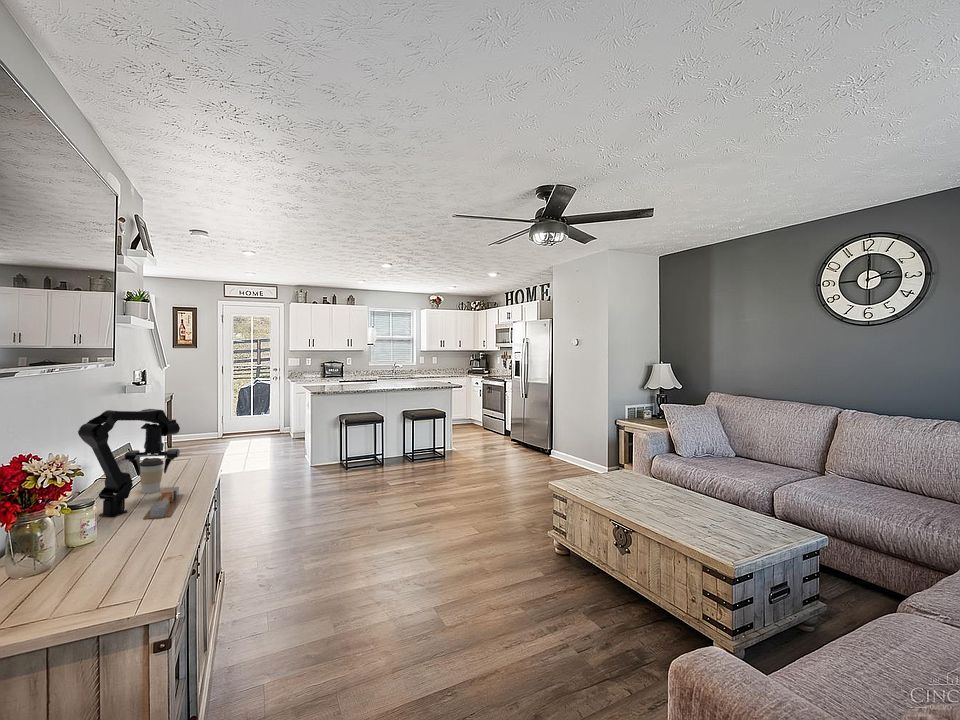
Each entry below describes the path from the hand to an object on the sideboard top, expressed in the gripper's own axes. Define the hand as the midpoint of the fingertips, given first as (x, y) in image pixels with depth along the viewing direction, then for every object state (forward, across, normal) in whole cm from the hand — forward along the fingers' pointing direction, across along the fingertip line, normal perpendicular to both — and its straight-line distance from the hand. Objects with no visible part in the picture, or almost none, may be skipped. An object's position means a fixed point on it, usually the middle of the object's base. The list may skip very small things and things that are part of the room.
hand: (152, 473), depth 196 cm
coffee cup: (+12, +4, -16) cm, 20 cm away
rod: (+11, -7, +7) cm, 15 cm away
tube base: (+12, -7, +8) cm, 16 cm away
